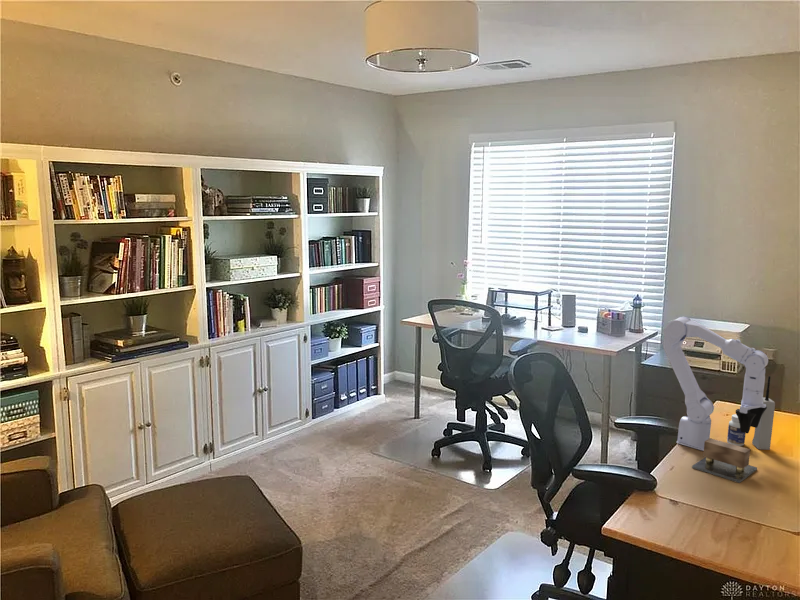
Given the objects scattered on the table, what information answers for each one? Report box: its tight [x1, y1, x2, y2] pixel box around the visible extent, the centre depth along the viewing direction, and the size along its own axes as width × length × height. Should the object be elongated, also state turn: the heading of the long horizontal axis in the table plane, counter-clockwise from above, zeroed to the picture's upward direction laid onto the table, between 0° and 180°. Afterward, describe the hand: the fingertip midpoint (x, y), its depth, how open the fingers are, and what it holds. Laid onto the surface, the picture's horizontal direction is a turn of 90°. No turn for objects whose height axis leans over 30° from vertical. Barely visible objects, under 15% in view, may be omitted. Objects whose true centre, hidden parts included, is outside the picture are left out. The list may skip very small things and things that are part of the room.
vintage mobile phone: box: [751, 375, 776, 451], centre depth 218 cm, size 4×5×25 cm
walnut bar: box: [702, 437, 751, 468], centre depth 201 cm, size 12×4×5 cm, turn 43°
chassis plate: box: [691, 457, 758, 484], centre depth 202 cm, size 14×14×3 cm
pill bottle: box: [726, 413, 747, 447], centre depth 223 cm, size 5×5×10 cm
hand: (749, 429), depth 210 cm, fingers open, 7 cm apart
